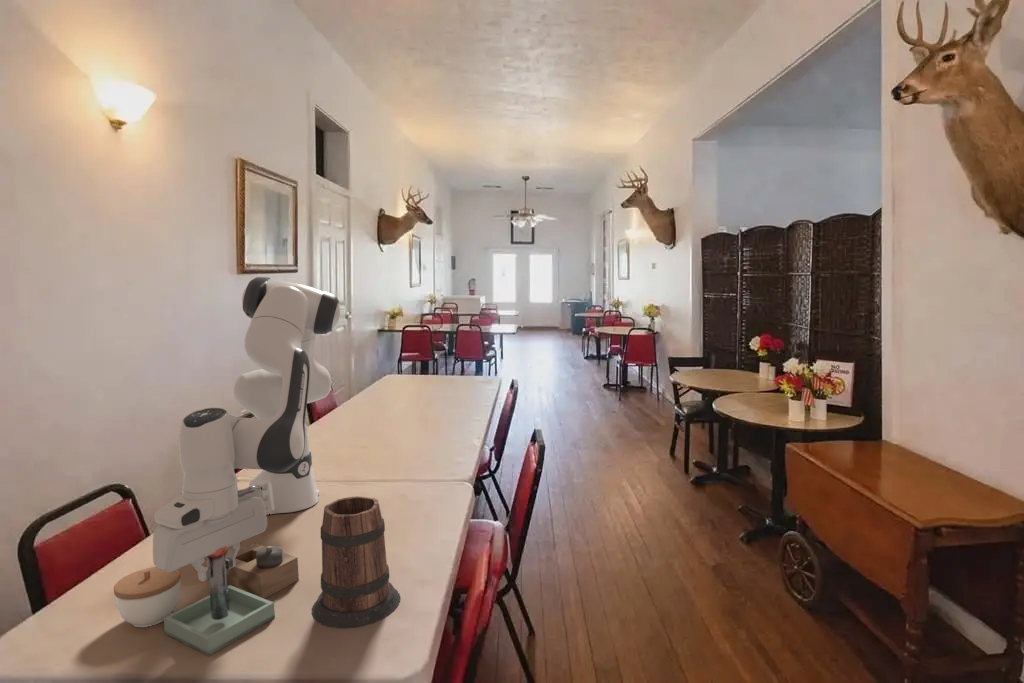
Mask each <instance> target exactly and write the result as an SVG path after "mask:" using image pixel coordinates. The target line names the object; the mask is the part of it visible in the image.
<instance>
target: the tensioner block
mask: <svg viewBox="0 0 1024 683" xmlns="http://www.w3.org/2000/svg"><path fill="white" fill-rule="evenodd" d="M225 558H226V555H225ZM298 562H299V559H298V556H294V555H292V554H288V553H285V552H283V548H281V547H280V546H274V545H267V546H264V545H261V544H258V543H252V544H250V545H248V546H246V547H243V548H240V549H239V551H238V553H237V556H236V558H235V567H233V568H231V569H228V570H226V573H227V586H230V585H231V586H233V587H236V588H238V589H241V590H244V591H246V592H249V593H251V594H254V595H256V596H259V597H261V598H264V599H266V598H268V597H270V596H272V595H274V594H276V593H278V592H280V591H281V590H283V589H285V588H287V587H288V586H290V585H293V584H294V583H296V582H298V581H299V580H300V578H299V563H298Z"/></svg>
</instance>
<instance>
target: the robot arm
mask: <svg viewBox="0 0 1024 683" xmlns="http://www.w3.org/2000/svg"><path fill="white" fill-rule="evenodd" d="M241 302H242V311H243V312H244V314H245V315H246V317H248V318H249V319H251V321H250V323H249V326H248V328H247V331H246V333H245V337H244V350H245V352H246V354H247V356H248V358H249V359H250V360H251V361H252V362H253V363H254V364H255V365H256V366H258V367H259V368H260V369H256V370H255V369H254V370H251V371H248V372H245V373H242V374H240V375H239V376H238V377H237V379H236V381H235V383H234V385H233V395H234V398H235V400H236V403H237V404H238V405H239V406H240V407H241V408H242V409H243V410H245V411H248V412H249V413H251V414H252V415H253V416H254V418H253V417H251V418H250V417H239V416H234V415H230V414H229V413H228V411H227V410H226V409H224V408H220V407H208V408H207V407H206V408H204V409H200V410H196V411H193V412H191V413H190V414H188V415H186V416H185V417H184V418H183V419H182V421H181V424H180V429H179V439H178V440H179V442H178V448H179V450H178V452H179V465H180V468H181V470H182V472H183V481H182V485H181V486H182V488H181V490H182V492H181V493H180V494H178V495H177V496H176V497H175V498H173V499H172V500H171V501H169V502H167V503H166V504H165V505H162V507H160V508H159V509H157V510H156V511H155V512H154V515H153V516H154V521H155V522H156V523H158V526H156V528H155V530H154V532H153V534H152V535H153V537H152V561H153V565H154V567H157V568H158V569H160V570H162V571H165V572H172V571H174V570H177V569H178V570H179V569H181V568H184V567H186V566H188V565H191V566H192V567H193V568H194V569H195V570H196V571H197V579H198V580H199V581H200V582H205V581H206V580H207V581H208V580H209V578H211V569H209V568H208V567H207V566H203V564H205V558H206V557H207V556H209V555H211V554H214V553H215V552H216V550H219V549H221V548H223V547H228V552H227V553H226V554H225V556H226V558H225V559H226V570H228V569H231V568H233V567H235V558H236V556H237V553H238V551H239V550H241V544H240V543H241V542H243V541H246V540H248V539H250V538H252V537H255V536H257V535H260V534H262V533H264V532H265V531H266V528H267V527H268V518H267V516H268V515H269V514H270V515H274V514H288V513H294V512H299V511H303V510H306V509H309V508H311V507H313V506H314V505H316V504H317V503H318V502H319V495H320V490H319V489H318V488H317V483H316V477H315V471H314V468H313V467H312V465H313V460H312V459H313V456H312V452H311V451H310V440H309V439H310V437H309V428H308V426H307V424H306V413H307V407H308V406H307V405H308V404H311V403H314V402H317V401H319V400H323V399H325V398H327V397H328V395H329V394H330V392H331V389H332V383H333V381H332V376H331V374H330V372H329V371H328V369H327V368H326V367H324V366H323V365H321V363H320V364H319V363H318V362H317V361H316V359H315V356H314V349H315V348H314V347H315V346H314V345H315V340H316V335H327V334H329V333H330V332H332V331H333V329H334V328H335V326H336V325H337V324H338V322H339V319H340V315H341V308H340V300H339V299H338V297H337V296H336V295H335V294H333V293H331V292H328V291H326V290H324V291H323V290H320V289H319V288H318V289H317V288H314V287H312V286H310V285H309V286H308V285H305V284H302V283H298V282H297V283H296V282H295V283H294V282H291V281H285V280H279V279H271V278H270V277H269V276H267V277H266V276H265V277H264V276H257V277H255V278H252V279H250V280H249V282H248V284H247V285H246V287H245V289H244V290H243V293H242V298H241ZM255 417H256V418H255ZM235 469H240V470H241V469H242V470H243V469H244V470H261V471H259V473H258V474H256V476H254V477H253V478H252V479H251V480H250V482H249V485H248V487H246V488H242V489H239V488H238V477H237V475H236V472H235Z"/></svg>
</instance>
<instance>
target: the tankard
mask: <svg viewBox="0 0 1024 683" xmlns="http://www.w3.org/2000/svg"><path fill="white" fill-rule="evenodd" d="M385 531H386V526H385V519H384V518H383V516H382V512H381V508H380V503H379V500H378V499H377V498H375V497H366V496H350V497H349V496H348V497H343V498H339V499H336V500H334V501H333V502H330V503H328V504H326V505H324V507H323V517H322V525H321V526H320V539H321V567H322V568H321V570H322V572H321V575H320V588H321V593H320V594H319V595H318V598H317V599H316V601H315V602H314V603H313V604H314V605H312V608H311V615H312V616H311V617H312V618H313V620H315V622H316V623H318V624H320V625H322V626H324V627H327V628H332V629H340V630H341V629H344V630H345V629H356V628H361V627H366V625H367V626H369V625H373V624H375V623H377V622H381V621H382V620H385V619H386V618H388V617H389V616H391V614H392V613H394V612H395V611H396V610H397V609H398V608H399V606H400V604H401V598H402V597H401V594H400V592H399V591H398V590H397V589H396V588H395V587H394V585H393V584H392V583H391V582H389V580H390V568H389V565H388V562H387V551H386V550H387V548H386V540H385V538H386V537H385ZM398 592H399V593H398ZM399 603H400V604H399Z"/></svg>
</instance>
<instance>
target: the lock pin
mask: <svg viewBox="0 0 1024 683" xmlns="http://www.w3.org/2000/svg"><path fill="white" fill-rule="evenodd" d="M228 549H229V548H228V547H223V548H221V549H219V550H216V552H215V553H214V554H211V555H209V556H207V557H205V558H206V564H207V566H206V567H207V568H209V569H211V578H209V579H208V587H209V588H208V591H209V595H210V605H211V617H212V619H214V620H219V619H223V618H225V617H227V616H228V615H229V599H228V586H227V573H226V559H225V556H226V555H227V552H228Z"/></svg>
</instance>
